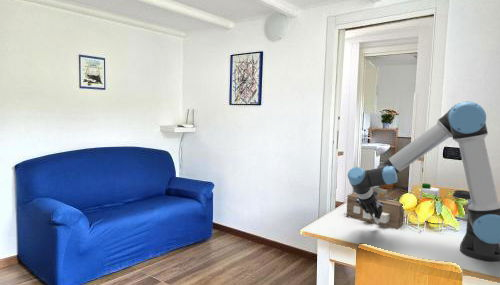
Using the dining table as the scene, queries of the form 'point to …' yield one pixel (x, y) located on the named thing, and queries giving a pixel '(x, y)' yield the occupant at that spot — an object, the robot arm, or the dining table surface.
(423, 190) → the milk carton
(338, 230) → the dining table surface
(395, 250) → the dining table surface
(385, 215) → the button right
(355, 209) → the button left
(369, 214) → the button middle
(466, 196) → the coffee cup
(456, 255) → the dining table surface
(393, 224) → the console
